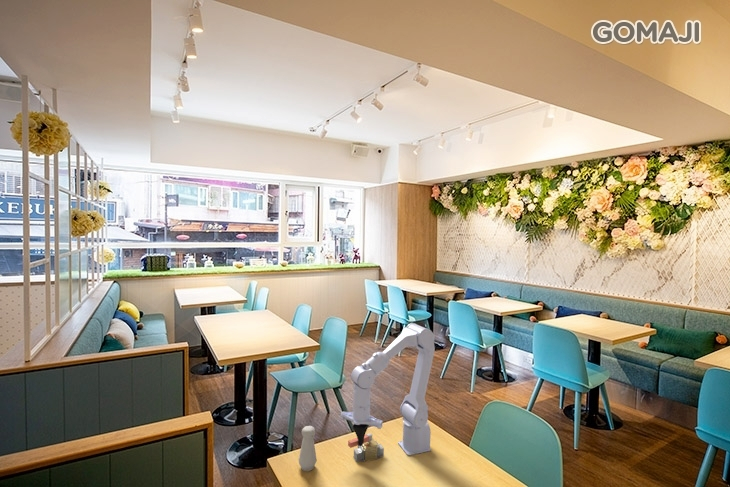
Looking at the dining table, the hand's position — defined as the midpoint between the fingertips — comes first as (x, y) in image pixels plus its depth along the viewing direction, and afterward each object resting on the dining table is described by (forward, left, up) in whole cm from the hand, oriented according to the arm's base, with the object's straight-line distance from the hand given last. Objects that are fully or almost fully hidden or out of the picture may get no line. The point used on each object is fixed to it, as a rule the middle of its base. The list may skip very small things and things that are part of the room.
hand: (360, 444), depth 120 cm
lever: (-1, -2, 0) cm, 2 cm away
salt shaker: (+17, -3, -7) cm, 18 cm away
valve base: (-4, -2, -6) cm, 8 cm away
